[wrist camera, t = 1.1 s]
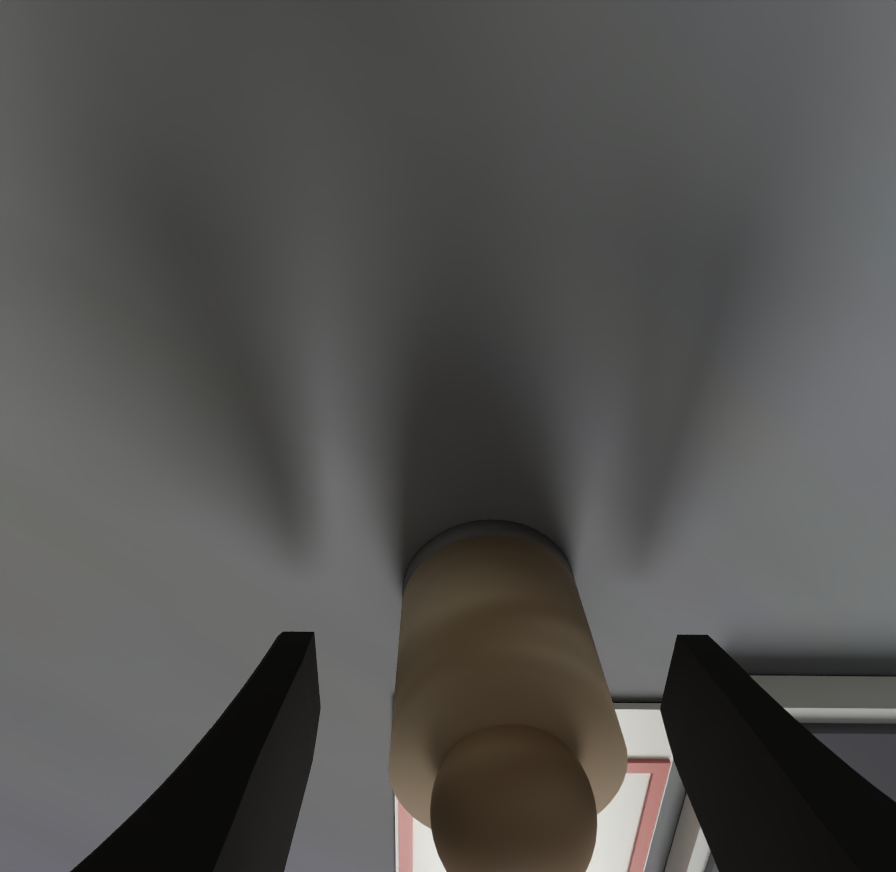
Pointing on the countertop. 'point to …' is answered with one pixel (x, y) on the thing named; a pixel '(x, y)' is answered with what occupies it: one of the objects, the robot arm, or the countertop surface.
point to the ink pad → (833, 723)
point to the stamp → (501, 704)
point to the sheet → (618, 824)
